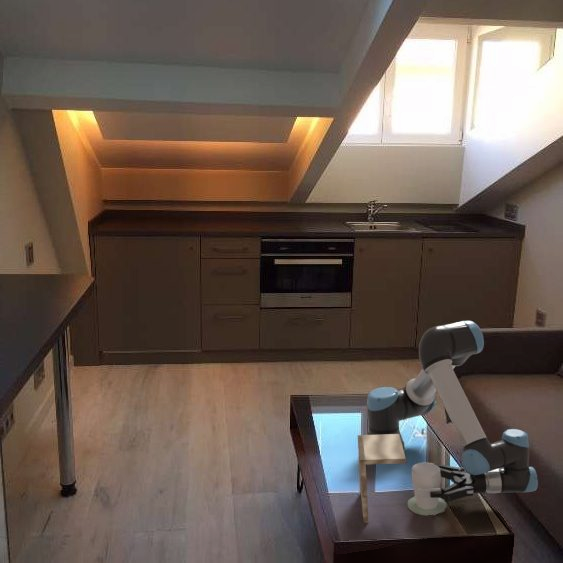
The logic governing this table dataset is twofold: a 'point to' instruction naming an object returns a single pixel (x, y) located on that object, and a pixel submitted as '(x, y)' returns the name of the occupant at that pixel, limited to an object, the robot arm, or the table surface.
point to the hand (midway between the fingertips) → (415, 482)
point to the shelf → (377, 458)
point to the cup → (425, 483)
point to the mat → (426, 512)
